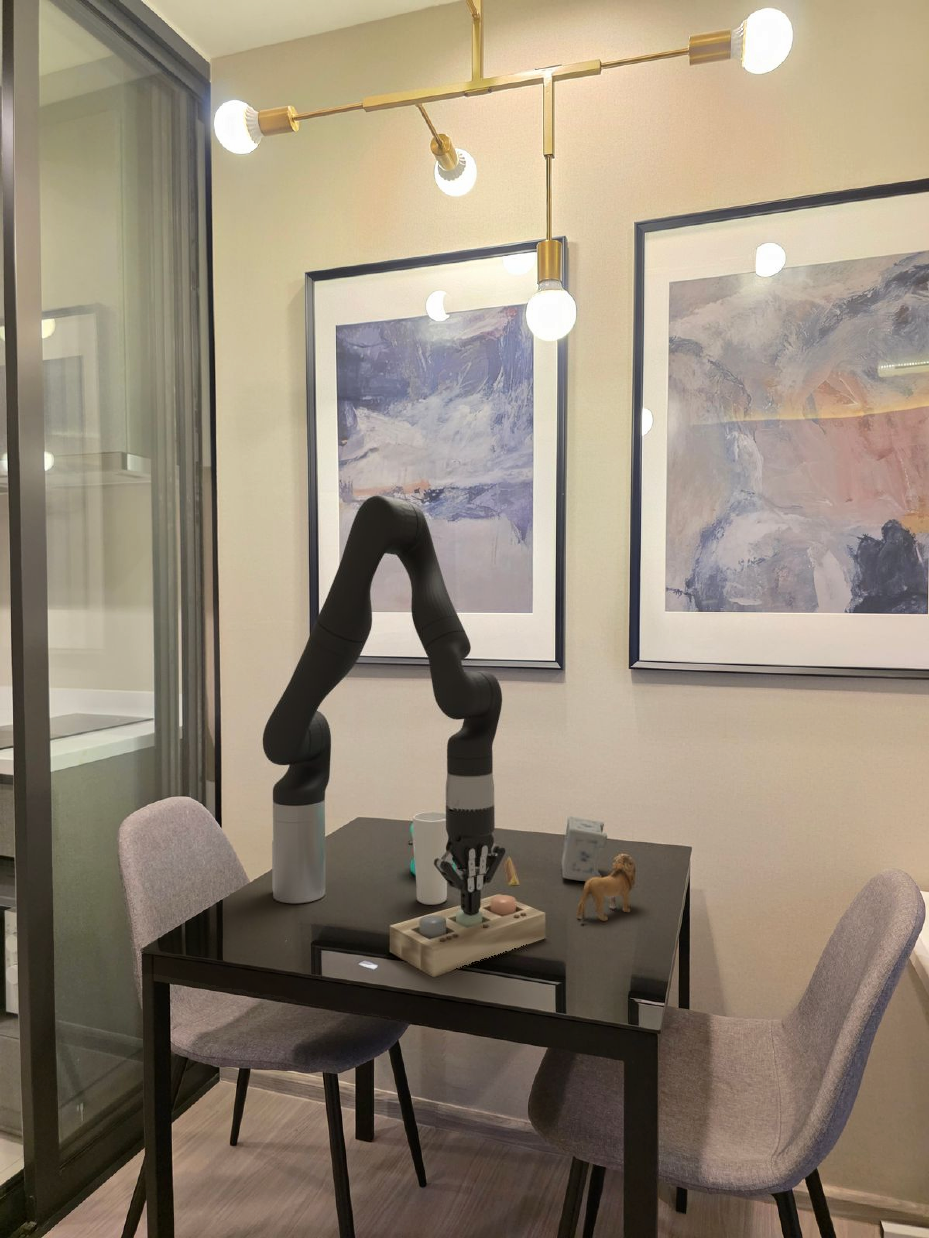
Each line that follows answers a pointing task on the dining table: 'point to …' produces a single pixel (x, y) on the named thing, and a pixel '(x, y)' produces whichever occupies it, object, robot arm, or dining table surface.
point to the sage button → (468, 918)
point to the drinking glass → (429, 856)
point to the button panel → (466, 938)
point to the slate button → (432, 926)
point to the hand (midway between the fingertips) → (470, 913)
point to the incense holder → (582, 849)
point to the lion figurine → (610, 887)
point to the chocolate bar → (511, 872)
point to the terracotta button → (503, 905)
